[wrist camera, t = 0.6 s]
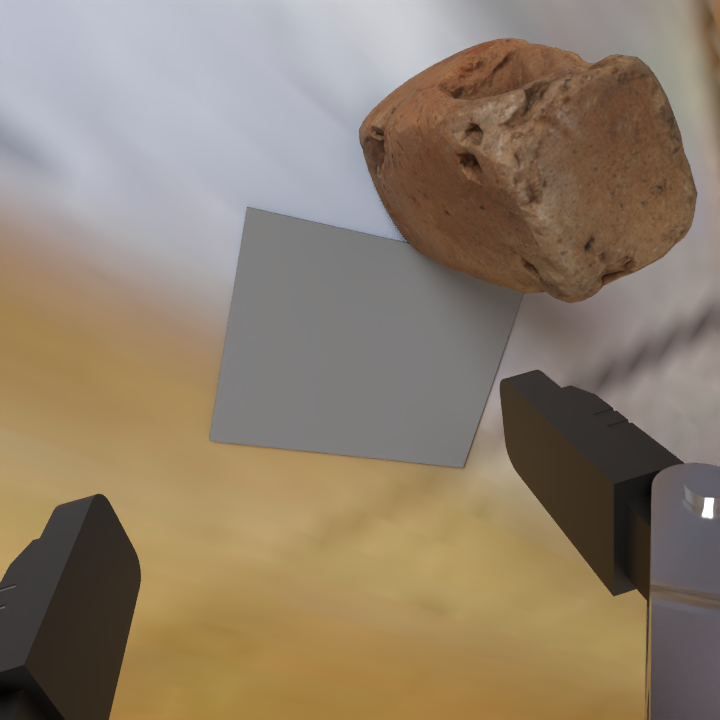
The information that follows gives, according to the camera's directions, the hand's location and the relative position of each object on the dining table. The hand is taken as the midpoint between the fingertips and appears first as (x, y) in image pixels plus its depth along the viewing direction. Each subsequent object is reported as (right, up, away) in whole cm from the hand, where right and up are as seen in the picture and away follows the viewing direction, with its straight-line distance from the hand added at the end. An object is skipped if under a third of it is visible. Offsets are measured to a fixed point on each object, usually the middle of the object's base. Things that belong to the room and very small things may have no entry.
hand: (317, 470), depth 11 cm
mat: (+2, +3, +31) cm, 31 cm away
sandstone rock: (+5, +16, +27) cm, 31 cm away
